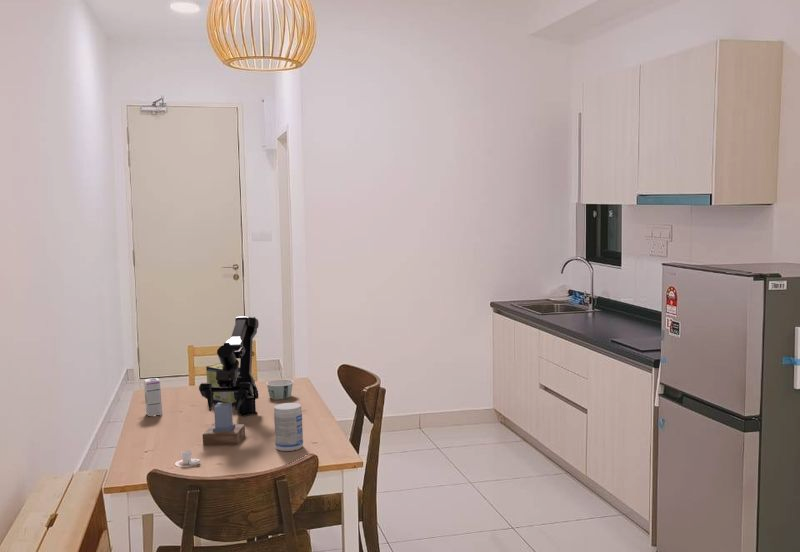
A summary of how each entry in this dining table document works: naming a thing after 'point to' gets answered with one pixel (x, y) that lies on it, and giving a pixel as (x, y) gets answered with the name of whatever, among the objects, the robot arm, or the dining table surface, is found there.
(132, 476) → the dining table surface
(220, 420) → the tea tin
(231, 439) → the stack block
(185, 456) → the teacup and saucer
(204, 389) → the robot arm
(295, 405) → the supplement tub
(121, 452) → the dining table surface
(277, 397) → the food container
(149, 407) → the syrup box
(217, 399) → the protein box
